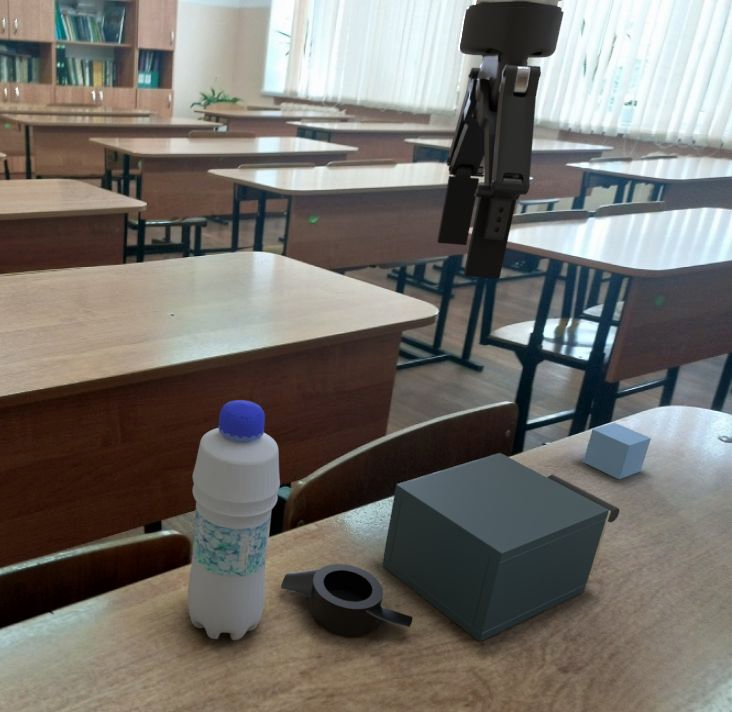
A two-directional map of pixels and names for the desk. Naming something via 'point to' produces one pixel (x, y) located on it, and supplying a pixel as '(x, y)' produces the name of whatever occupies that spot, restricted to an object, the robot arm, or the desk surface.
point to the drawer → (612, 509)
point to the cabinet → (492, 542)
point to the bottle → (232, 521)
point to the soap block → (616, 450)
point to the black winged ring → (344, 599)
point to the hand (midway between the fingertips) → (465, 258)
